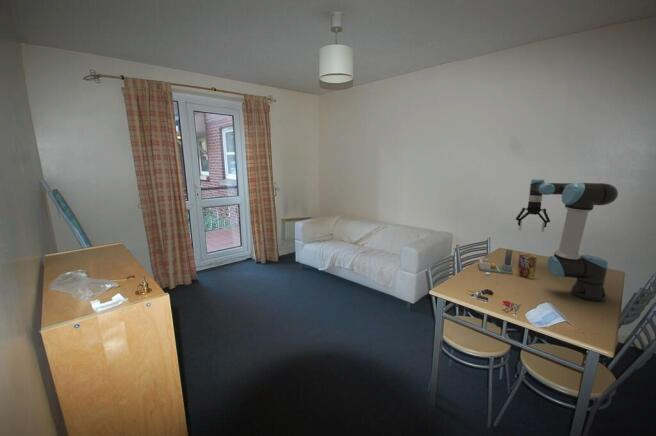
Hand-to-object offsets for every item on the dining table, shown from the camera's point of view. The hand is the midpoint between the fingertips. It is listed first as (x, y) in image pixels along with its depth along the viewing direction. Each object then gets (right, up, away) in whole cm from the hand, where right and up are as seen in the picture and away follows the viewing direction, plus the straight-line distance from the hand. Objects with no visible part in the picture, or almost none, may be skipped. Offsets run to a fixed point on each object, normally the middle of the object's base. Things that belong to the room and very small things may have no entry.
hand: (531, 230), depth 208 cm
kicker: (-19, -27, -3) cm, 33 cm away
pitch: (-26, -28, 0) cm, 38 cm away
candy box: (-13, -30, -13) cm, 35 cm away
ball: (-27, -25, 0) cm, 37 cm away
